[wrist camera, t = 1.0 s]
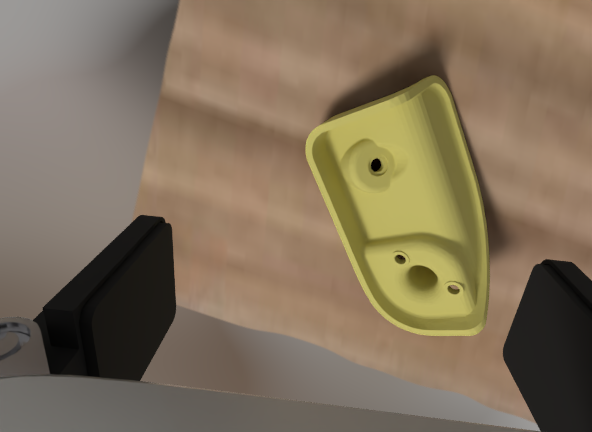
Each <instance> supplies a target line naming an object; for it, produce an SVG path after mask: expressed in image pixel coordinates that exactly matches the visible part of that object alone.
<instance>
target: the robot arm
mask: <svg viewBox="0 0 592 432" xmlns="http://www.w3.org/2000/svg"><path fill="white" fill-rule="evenodd" d="M175 313H176V297H175V278H174V259H173V240H172V227H171V224H170V223H165V220H164V218H163V217H155V216H146V215H140V216H138V217H137V218H136V219H135V220H134V221H133V222H132V223H131V224H130V225H129V226H128V227H127V228H126V229H125V230H124V231H123V232H122V233H121V234H120V235H119V236H118V237H116V238H115V239H114V240H113V241H112V242H111V243H110V244H109V245H108V246H107V247H106V248H105V249H104V250H103V251H102V252H101V253H100V254H99V255H97V256H96V257H95V258H94V260H92V261H91V262H90V263H89V264H88V265H87V266H86V267H85V268H84V269H83V270H82V271H81V272H80V273H79V274H77V276H75V277H74V278H73V279H72V281H70V282H69V283H68V284H67V285H66V286H65V287H64V288H63V289H62V290H61V291H60V292H59V293H58V294H56V296H54V297H53V298H52V299H51V300H50V301H49V302H48V303H47V304H46V305H45V306H44V307H43V311H42V312H41V313H40V314H39V315H38V316H37V317H36V318H35V319H34V320H33V321H32V320H30V319H27V318H21V317H6V318H1V319H0V432H538V431H531V430H523V429H516V428H508V427H501V426H493V425H485V424H477V423H469V422H462V421H454V420H446V419H438V418H430V417H423V416H415V415H407V414H399V413H391V412H383V411H375V410H368V409H359V408H352V407H344V406H336V405H328V404H320V403H312V402H305V401H297V400H289V399H281V398H273V397H266V396H265V397H264V396H257V395H249V394H241V393H233V392H224V391H217V390H208V389H200V388H192V387H184V386H175V385H167V384H159V383H151V382H143V381H140V380H141V378H142V376H143V374H144V372H145V371H146V369H147V367H148V365H149V364H150V362H151V360H152V358H153V356H154V355H155V352H156V351H157V349H158V347H159V345H160V344H161V342H162V340H163V338H164V336H165V334H166V333H167V331H168V329H169V327H170V326H171V324H172V322H173V320H174V317H175ZM503 357H504V361H505V363H506V365H507V367H508V369H509V371H510V373H511V375H512V376H513V378H514V380H515V382H516V384H517V386H518V388H519V390H520V392H521V394H522V396H523V398H524V400H525V402H526V404H527V406H528V407H529V409H530V411H531V413H532V415H533V417H534V419H535V421H536V423H537V425H538V427H539V428H540V431H541V432H592V281H591V280H590V279H589V278H588V277H587V276H586V275H585V274H584V273H583V272H582V271H581V270H580V269H579V268H578V267H577V266H576V265H575V264H573V263H572V262H566V261H557V260H548V259H546V260H544V261H543V262H542V263H541V264H537V265H535V266H534V268H533V270H532V272H531V275H530V278H529V280H528V283H527V286H526V288H525V291H524V294H523V296H522V299H521V301H520V304H519V307H518V309H517V312H516V315H515V317H514V320H513V323H512V325H511V328H510V331H509V333H508V336H507V339H506V341H505V344H504V347H503Z"/></svg>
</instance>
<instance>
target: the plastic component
mask: <svg viewBox="0 0 592 432" xmlns="http://www.w3.org/2000/svg"><path fill="white" fill-rule="evenodd" d="M306 157H307V161H308V163H309V166H310V168H311V170H312V173H313V175H314V177H315V180H316V182H317V184H318V187H319V189H320V191H321V194H322V196H323V198H324V201H325V203H326V205H327V208H328V210H329V212H330V215H331V217H332V219H333V222H334V224H335V226H336V229H337V231H338V233H339V236H340V238H341V240H342V243H343V245H344V247H345V250H346V252H347V254H348V257H349V259H350V261H351V264H352V266H353V268H354V271H355V273H356V275H357V277H358V279H359V282H360V284H361V286H362V288H363V290H364V292H365V294H366V295H367V297H368V299H369V300H370V302H371V303H372V305H373V306H374V307H375V309H376V310H377V311H378V312H379V313H380V314H381V315H382V316H383V317H384V318H385V319H387V320H388V321H390V322H391V323H392V324H394V325H396V326H398V327H400V328H402V329H404V330H406V331H409V332H412V333H416V334H421V335H429V336H472V335H475V334H477V333H479V332H480V331H481V330H482V329H483V328H484V326H485V324H486V319H487V311H488V301H489V284H490V265H489V244H488V233H487V224H486V218H485V212H484V206H483V201H482V196H481V192H480V187H479V183H478V179H477V176H476V173H475V169H474V166H473V163H472V160H471V156H470V153H469V150H468V147H467V143H466V140H465V137H464V134H463V131H462V127H461V124H460V121H459V118H458V114H457V111H456V108H455V105H454V101H453V98H452V95H451V93H450V91H449V89H448V87H447V85H446V84H445V82H444V81H443V80H442V79H441V78H440V77H438V76H436V75H431V76H429V77H426V78H424V79H422V80H420V81H419V82H417V83H415V84H413V85H411V86H410V87H407V88H405V89H403V90H401V91H398V92H396V93H394V94H391V95H388V96H386V97H383V98H380V99H378V100H375V101H372V102H370V103H367V104H364V105H362V106H359V107H356V108H354V109H351V110H348V111H346V112H343V113H340V114H338V115H335V116H333V117H331V118H330V119H328V120H327V121H325V122H324V123H322V124H321V125H319V126H318V127H316V128H315V129H314V130H313V131H312V132H311V133H310V135H309V137H308V139H307V141H306ZM376 158H378V159H379V160H380V161H381V167H380V169H379V170H378V171H376V172H374V171H373V170H372V169H371V162H372V161H373V160H374V159H376ZM397 255H402V256H404V257H405V259H406V260H401V259H399V258H398V257H397ZM450 285H455V286H458V288H459V289H458V290H455V289H452V288H451V287H450Z"/></svg>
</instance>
